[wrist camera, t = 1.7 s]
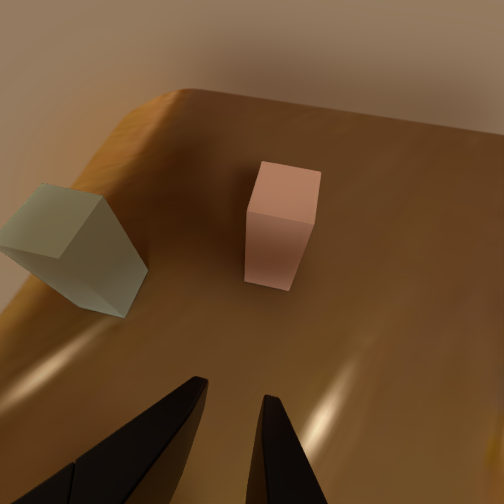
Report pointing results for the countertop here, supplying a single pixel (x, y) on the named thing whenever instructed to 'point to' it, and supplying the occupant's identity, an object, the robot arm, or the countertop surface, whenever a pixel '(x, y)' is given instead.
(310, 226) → the terracotta block
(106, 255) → the sage block
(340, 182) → the countertop surface
